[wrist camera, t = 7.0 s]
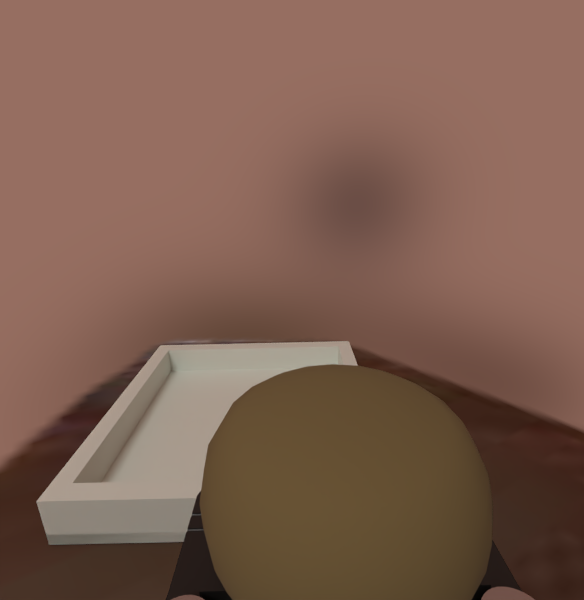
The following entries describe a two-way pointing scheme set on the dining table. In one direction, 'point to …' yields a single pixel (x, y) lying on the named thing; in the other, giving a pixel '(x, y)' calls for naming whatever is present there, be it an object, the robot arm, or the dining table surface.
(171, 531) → the serving tray
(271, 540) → the cork
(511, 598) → the robot arm
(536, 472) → the dining table surface
